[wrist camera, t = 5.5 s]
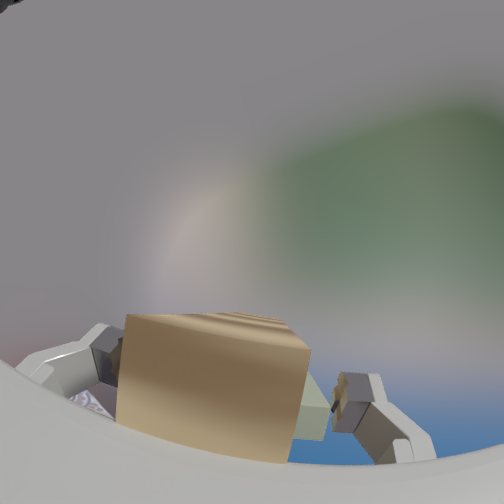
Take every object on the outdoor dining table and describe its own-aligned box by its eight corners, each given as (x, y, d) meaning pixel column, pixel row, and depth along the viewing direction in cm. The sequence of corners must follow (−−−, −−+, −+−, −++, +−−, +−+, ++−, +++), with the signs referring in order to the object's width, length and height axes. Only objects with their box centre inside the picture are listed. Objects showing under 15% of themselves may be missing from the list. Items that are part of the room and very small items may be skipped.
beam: (274, 504, 5) (311, 350, 6) (114, 463, 5) (126, 314, 6) (273, 357, 28) (279, 318, 29) (233, 350, 29) (240, 312, 30)
